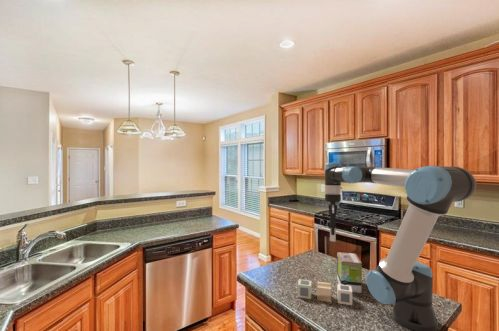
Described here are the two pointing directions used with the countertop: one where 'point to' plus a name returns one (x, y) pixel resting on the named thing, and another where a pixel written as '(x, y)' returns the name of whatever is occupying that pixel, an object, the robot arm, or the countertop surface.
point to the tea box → (349, 271)
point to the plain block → (324, 291)
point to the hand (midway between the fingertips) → (332, 240)
